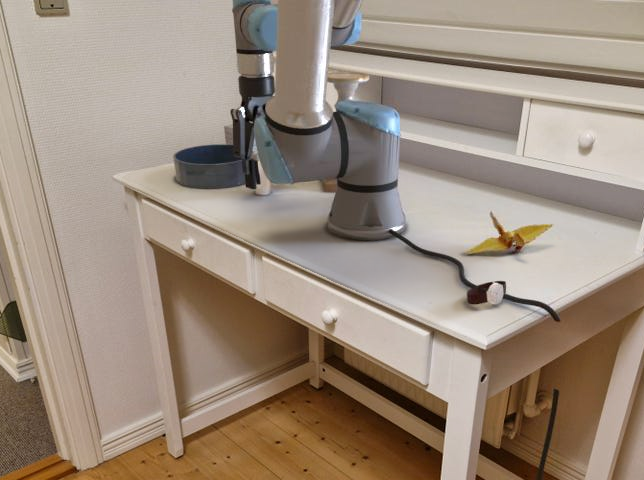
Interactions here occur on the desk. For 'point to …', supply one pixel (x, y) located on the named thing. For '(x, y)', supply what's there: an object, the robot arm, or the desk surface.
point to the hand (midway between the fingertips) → (262, 184)
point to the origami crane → (510, 237)
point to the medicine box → (229, 136)
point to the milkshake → (260, 177)
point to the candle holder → (345, 89)
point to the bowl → (208, 167)
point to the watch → (487, 293)
